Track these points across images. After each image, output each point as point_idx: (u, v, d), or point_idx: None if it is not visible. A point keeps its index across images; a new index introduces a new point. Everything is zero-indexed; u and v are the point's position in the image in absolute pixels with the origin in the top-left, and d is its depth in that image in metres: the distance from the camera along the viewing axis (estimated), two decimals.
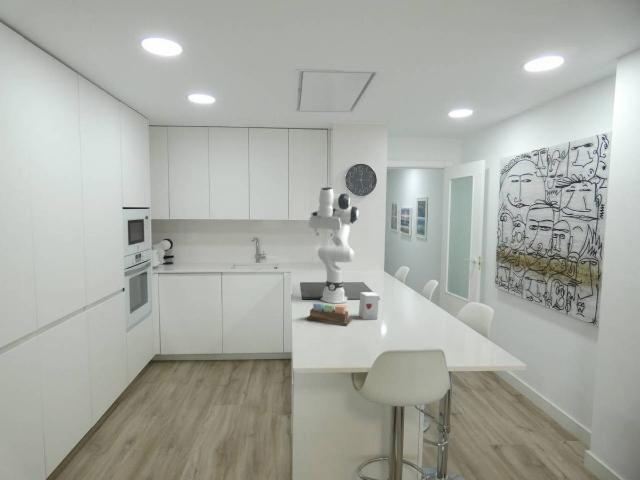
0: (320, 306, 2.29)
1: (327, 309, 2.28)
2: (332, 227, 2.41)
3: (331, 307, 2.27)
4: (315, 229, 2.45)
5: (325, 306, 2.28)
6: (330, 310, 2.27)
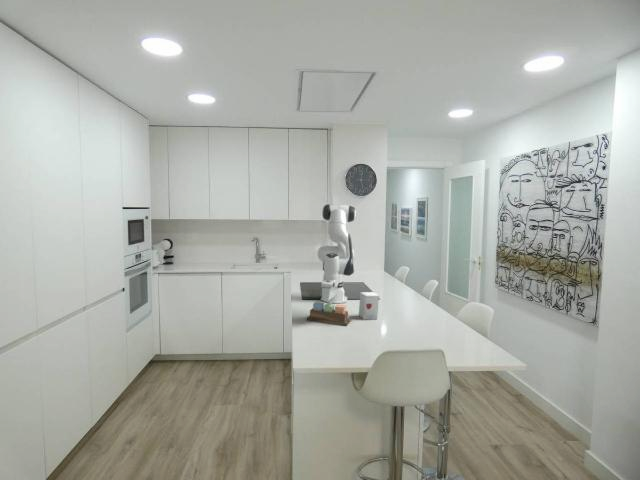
0: (320, 306, 2.29)
1: (327, 310, 2.28)
2: (335, 294, 2.34)
3: (331, 308, 2.27)
4: (330, 299, 2.27)
5: (325, 307, 2.28)
6: (330, 311, 2.27)
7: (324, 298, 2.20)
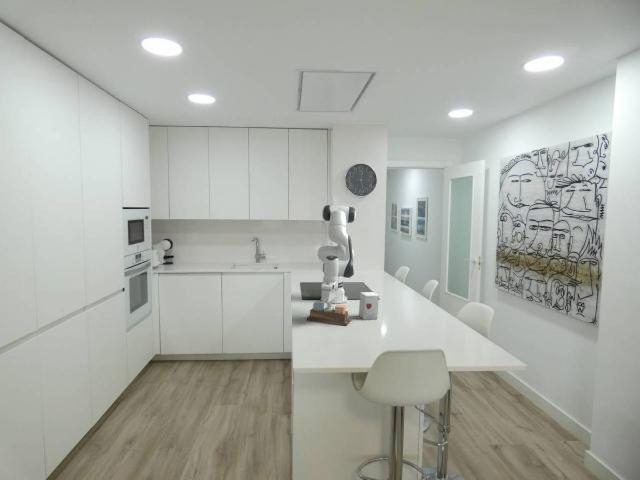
0: (320, 306, 2.29)
1: None
2: (335, 296, 2.34)
3: (331, 311, 2.27)
4: (330, 301, 2.28)
5: (325, 310, 2.28)
6: None
7: (324, 300, 2.20)
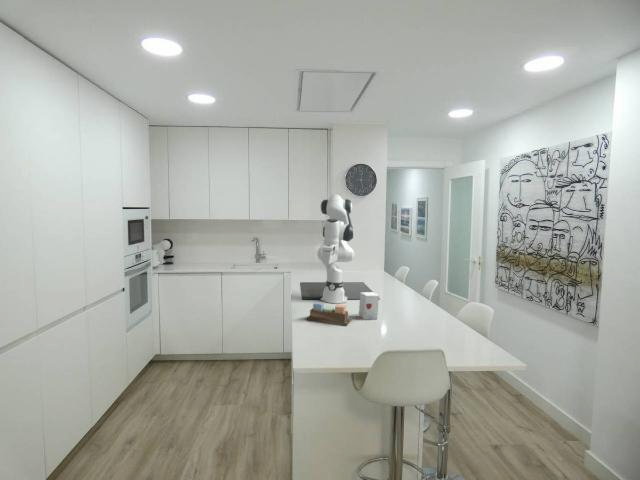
0: (320, 306, 2.29)
1: None
2: (335, 259, 2.37)
3: (331, 311, 2.27)
4: (331, 264, 2.30)
5: (325, 310, 2.28)
6: None
7: (325, 261, 2.23)
